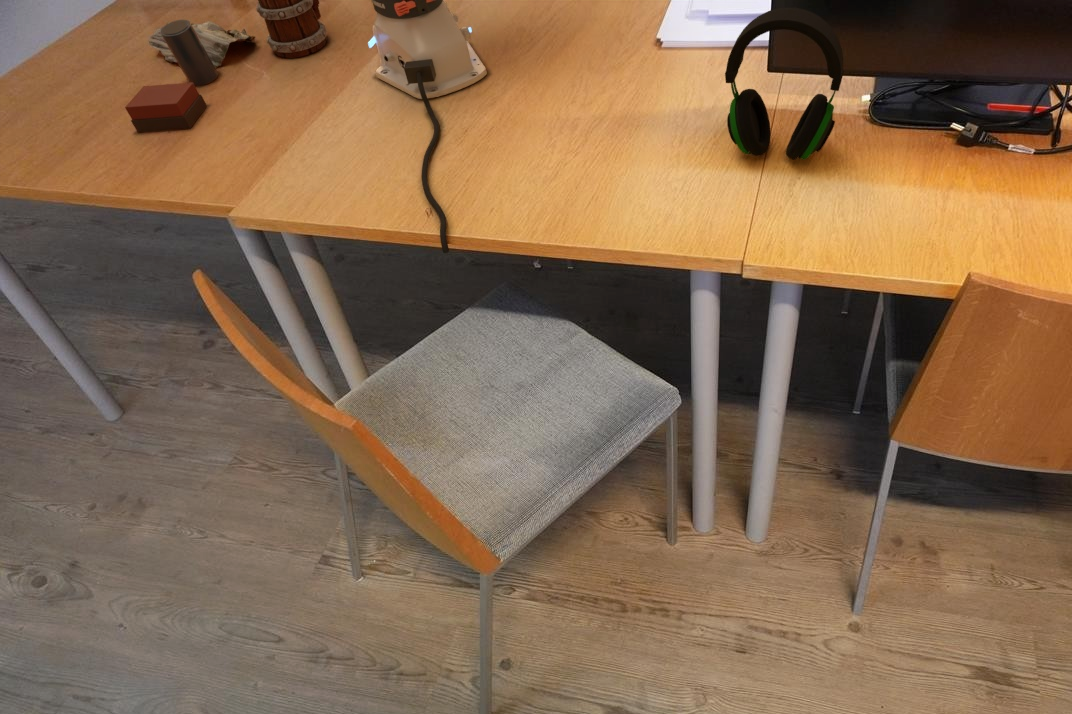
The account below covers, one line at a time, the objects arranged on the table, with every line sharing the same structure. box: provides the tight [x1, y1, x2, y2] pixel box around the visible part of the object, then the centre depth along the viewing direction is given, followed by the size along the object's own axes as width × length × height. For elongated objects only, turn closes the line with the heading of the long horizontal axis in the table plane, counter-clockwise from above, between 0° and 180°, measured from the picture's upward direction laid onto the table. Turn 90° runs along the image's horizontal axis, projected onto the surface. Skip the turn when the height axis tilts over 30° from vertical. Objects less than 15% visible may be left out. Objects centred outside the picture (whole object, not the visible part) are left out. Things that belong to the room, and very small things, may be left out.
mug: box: [255, 0, 328, 59], centre depth 152 cm, size 12×14×15 cm
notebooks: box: [124, 82, 208, 133], centre depth 138 cm, size 8×10×5 cm
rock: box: [147, 20, 256, 69], centre depth 156 cm, size 23×7×15 cm
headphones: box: [724, 6, 845, 161], centre depth 107 cm, size 9×16×20 cm, turn 71°
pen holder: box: [160, 19, 219, 87], centre depth 146 cm, size 6×6×10 cm
